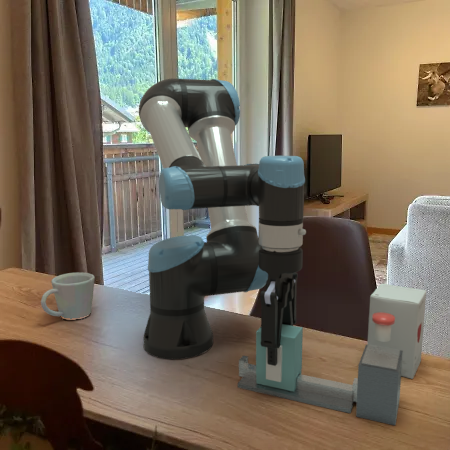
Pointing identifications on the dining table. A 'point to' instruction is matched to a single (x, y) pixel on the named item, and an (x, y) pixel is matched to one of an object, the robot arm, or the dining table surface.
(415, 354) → the supplement box
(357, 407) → the grey button housing
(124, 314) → the dining table surface
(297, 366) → the carriage
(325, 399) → the rail
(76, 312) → the mug
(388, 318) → the plunger
